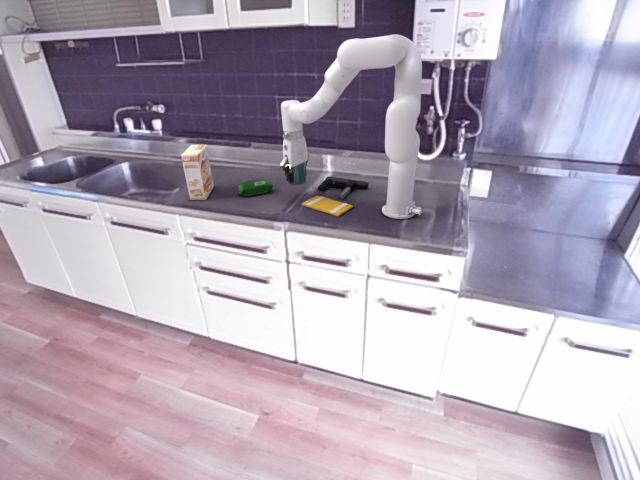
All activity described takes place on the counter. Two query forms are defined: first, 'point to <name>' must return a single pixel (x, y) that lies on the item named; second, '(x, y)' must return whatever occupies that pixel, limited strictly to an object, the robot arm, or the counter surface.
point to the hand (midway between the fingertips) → (296, 178)
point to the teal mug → (298, 174)
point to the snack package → (255, 187)
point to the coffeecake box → (197, 172)
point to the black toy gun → (342, 185)
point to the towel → (327, 205)
